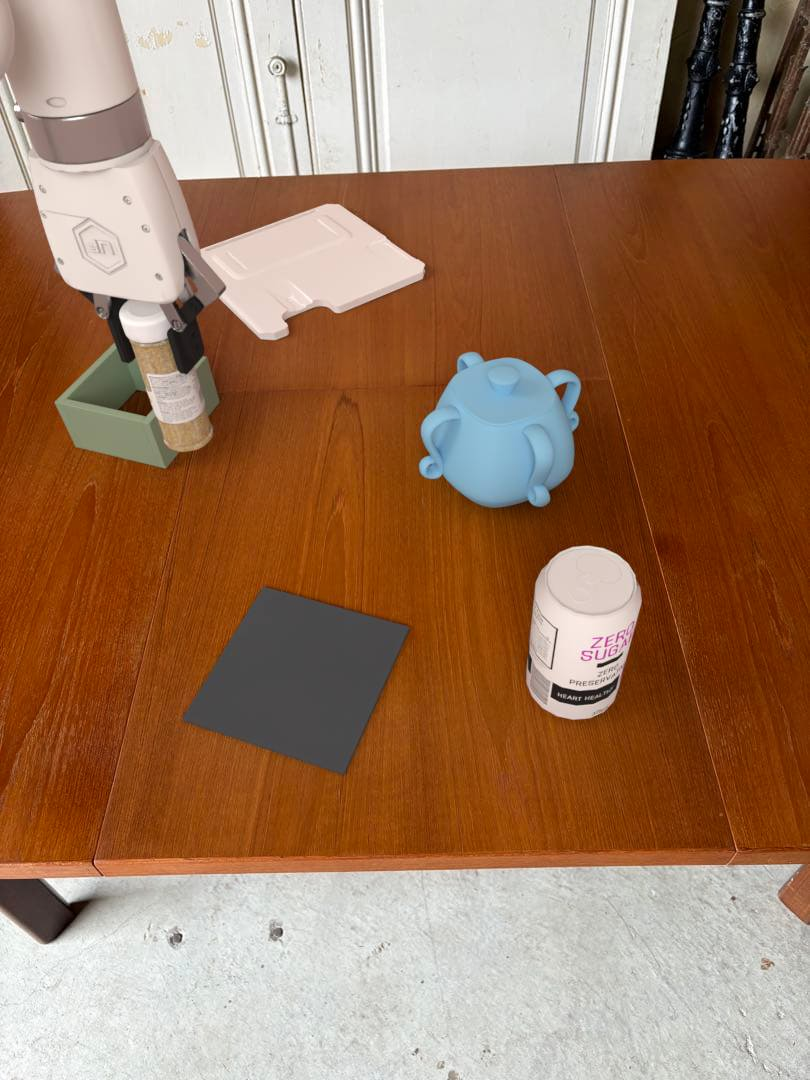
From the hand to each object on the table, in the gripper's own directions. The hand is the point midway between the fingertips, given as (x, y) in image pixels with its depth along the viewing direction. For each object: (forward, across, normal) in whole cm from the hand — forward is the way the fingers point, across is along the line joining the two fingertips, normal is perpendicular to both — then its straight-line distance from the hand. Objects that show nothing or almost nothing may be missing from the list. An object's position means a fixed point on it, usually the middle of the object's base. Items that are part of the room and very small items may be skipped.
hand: (163, 356), depth 66 cm
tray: (+26, -17, +56) cm, 64 cm away
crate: (+26, -21, +17) cm, 37 cm away
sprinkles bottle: (+9, 0, 0) cm, 9 cm away
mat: (+26, +13, -10) cm, 31 cm away
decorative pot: (+26, +24, +22) cm, 41 cm away
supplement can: (+26, +37, -4) cm, 45 cm away
